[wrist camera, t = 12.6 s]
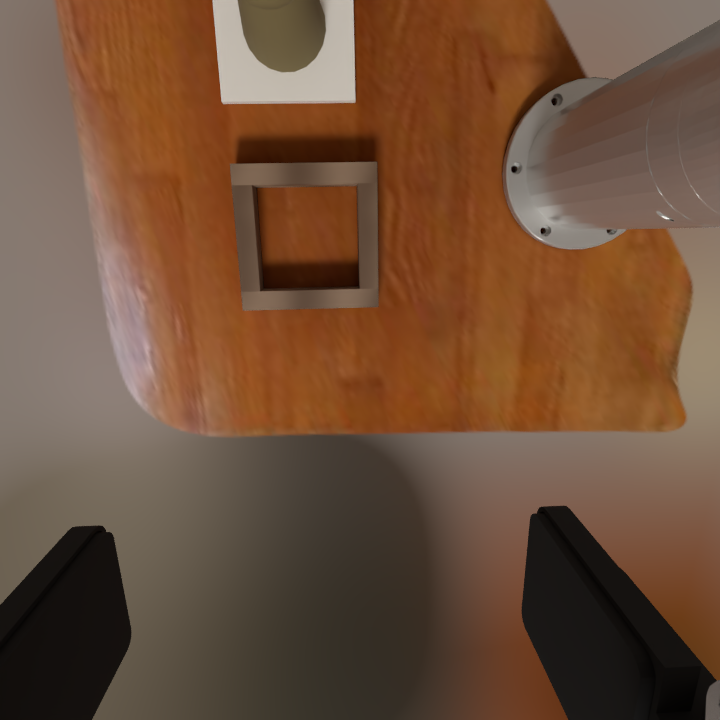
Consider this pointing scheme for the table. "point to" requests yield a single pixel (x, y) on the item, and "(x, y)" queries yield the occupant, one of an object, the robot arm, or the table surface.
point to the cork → (283, 31)
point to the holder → (249, 242)
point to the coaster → (266, 86)
